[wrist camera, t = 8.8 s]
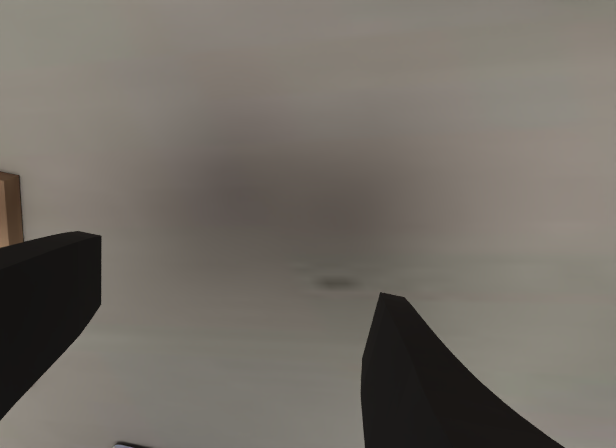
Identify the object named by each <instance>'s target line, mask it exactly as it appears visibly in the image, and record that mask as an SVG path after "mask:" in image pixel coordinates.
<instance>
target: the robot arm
mask: <svg viewBox="0 0 616 448" xmlns="http://www.w3.org/2000/svg"><path fill="white" fill-rule="evenodd" d="M100 305H101V236H100V235H95V234H90V233H85V232H80V231H75V232H67V233H61V234H56V235H52V236H47V237H43V238H38V239H34V240H30V241H26V242H22V243H18V244H13V245H9V246H5V247H1V248H0V420H1V419H2V418H3V417H4V416H5V415H6V413H7V412H8V411H9V410H10V409H11V408H12V407H13V405H14V404H15V403H16V402H17V401H18V400H19V399H20V398H21V397H22V396H23V395H24V394H25V393H26V392H27V391H28V390H29V389H30V388H31V386H32V385H33V384H34V383H35V382H36V381H37V380H38V379H39V378H40V377H41V376H42V375H43V374H44V373H45V372H46V371H47V370H48V369H49V368H50V367H51V365H52V364H53V363H54V362H55V361H56V360H57V359H58V358H59V357H60V356H61V355H62V354H63V353H64V352H65V351H66V350H67V348H68V347H69V346H70V345H71V344H72V343H73V342H74V341H75V340H76V339H77V338H78V336H79V335H80V334H81V333H82V331H83V330H84V328H85V327H86V326H87V324H88V323H89V322H90V320H91V319H92V317H93V316H94V314H95V313H96V311H97V310H98V308H99V307H100ZM361 405H362V417H363V429H364V440H365V448H564V447H563V446H562V445H560V444H559V443H557V442H556V441H554V440H553V439H551V438H550V437H548V436H547V435H546V434H544V433H543V432H542V431H540V430H539V429H538V428H536V427H535V426H534V425H532V424H531V423H530V422H528V421H527V420H526V419H524V418H523V417H521V416H520V415H519V414H518V413H516V412H515V411H514V410H513V409H511V408H510V407H509V406H508V405H506V404H505V403H504V402H503V401H502V400H501V399H499V398H498V397H497V396H496V395H495V394H494V393H493V392H491V391H490V390H489V389H488V388H487V387H486V386H485V385H483V384H482V383H481V382H480V381H479V380H478V379H477V378H476V377H475V376H474V375H473V374H472V373H471V372H470V371H469V370H468V369H467V368H466V367H465V366H464V365H463V364H462V363H461V362H460V361H459V360H458V359H457V358H456V357H455V356H454V355H453V354H452V353H451V351H450V350H449V349H448V348H447V347H446V346H445V345H444V344H443V343H442V341H441V340H440V339H439V338H438V337H437V336H436V334H435V333H434V332H433V331H432V330H431V329H430V327H429V326H428V325H427V324H426V322H425V321H424V320H423V319H422V318H421V316H420V315H419V314H418V313H417V311H416V310H415V309H414V308H413V306H412V305H411V304H410V303H409V302H408V301H407V299H406V298H405V297H401V296H396V295H391V294H386V293H381V292H380V295H379V299H378V303H377V306H376V310H375V314H374V317H373V321H372V325H371V328H370V332H369V336H368V339H367V343H366V347H365V350H364V354H363V358H362V373H361ZM112 448H133V447H128V446H124V445H114V446H113V447H112Z"/></svg>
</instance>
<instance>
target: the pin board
mask: <svg viewBox="0 0 616 448" xmlns="http://www.w3.org/2000/svg"><path fill="white" fill-rule="evenodd" d="M22 242H23V230H22V215H21V200H20V186H19V175H14V174H9V173H4V172H0V248H1V247H5V246H9V245H13V244H18V243H22ZM32 386H33V385H32ZM32 386H31V387H32Z"/></svg>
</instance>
